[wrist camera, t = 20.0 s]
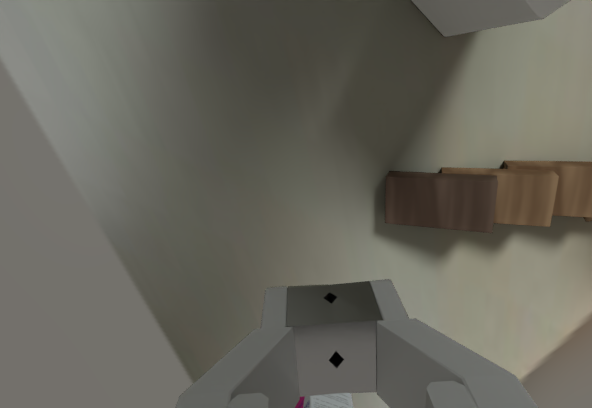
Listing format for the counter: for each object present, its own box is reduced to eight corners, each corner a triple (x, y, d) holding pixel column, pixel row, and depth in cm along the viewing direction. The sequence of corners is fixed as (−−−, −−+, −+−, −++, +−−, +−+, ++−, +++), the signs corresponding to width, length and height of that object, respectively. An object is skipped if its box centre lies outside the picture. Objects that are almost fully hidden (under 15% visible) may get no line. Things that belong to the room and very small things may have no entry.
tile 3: (501, 212, 40) (618, 218, 37) (508, 165, 38) (630, 168, 35) (498, 205, 42) (608, 210, 39) (504, 160, 40) (619, 162, 37)
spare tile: (385, 223, 40) (492, 232, 36) (385, 176, 39) (498, 182, 35) (388, 215, 42) (491, 224, 38) (389, 171, 40) (496, 175, 37)
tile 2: (438, 219, 40) (550, 226, 37) (441, 173, 38) (558, 176, 35) (438, 211, 42) (544, 218, 39) (441, 167, 40) (552, 170, 37)
